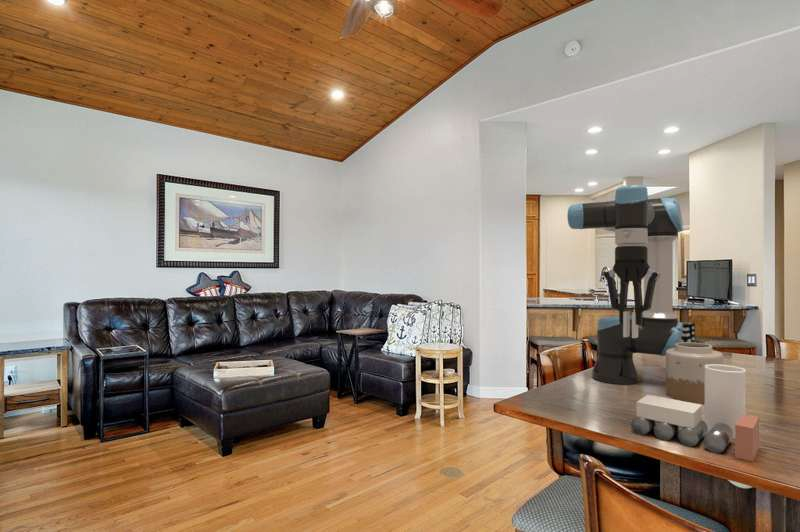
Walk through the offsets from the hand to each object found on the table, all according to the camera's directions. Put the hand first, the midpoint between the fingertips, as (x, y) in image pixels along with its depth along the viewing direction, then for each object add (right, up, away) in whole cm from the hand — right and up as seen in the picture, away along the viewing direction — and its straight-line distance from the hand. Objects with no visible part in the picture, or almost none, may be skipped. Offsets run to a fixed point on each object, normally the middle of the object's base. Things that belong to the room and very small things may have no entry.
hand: (630, 336), depth 116 cm
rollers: (+8, -23, -8) cm, 25 cm away
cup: (+21, -23, -5) cm, 31 cm away
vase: (+33, -23, +25) cm, 48 cm away
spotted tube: (+47, -23, +54) cm, 75 cm away
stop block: (+17, -23, -17) cm, 33 cm away
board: (+6, -19, -7) cm, 21 cm away
